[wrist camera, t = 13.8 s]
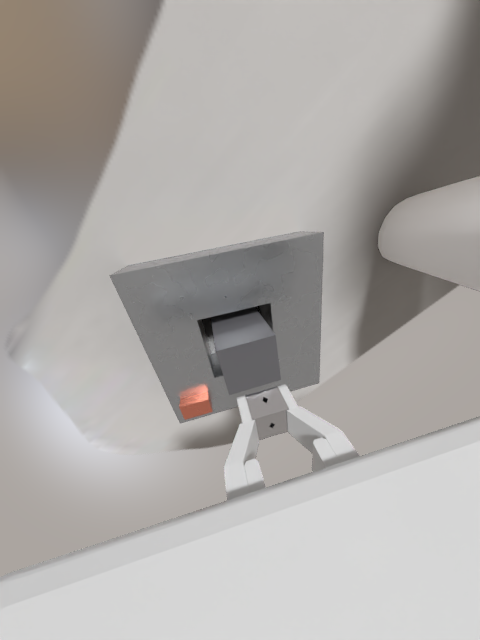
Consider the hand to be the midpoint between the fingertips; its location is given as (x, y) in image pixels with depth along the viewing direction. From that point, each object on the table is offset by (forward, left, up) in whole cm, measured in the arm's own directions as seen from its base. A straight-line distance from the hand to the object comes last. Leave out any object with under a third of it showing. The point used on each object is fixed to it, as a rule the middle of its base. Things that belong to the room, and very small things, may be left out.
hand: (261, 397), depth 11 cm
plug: (+1, 0, -11) cm, 11 cm away
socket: (+1, 0, -11) cm, 11 cm away
